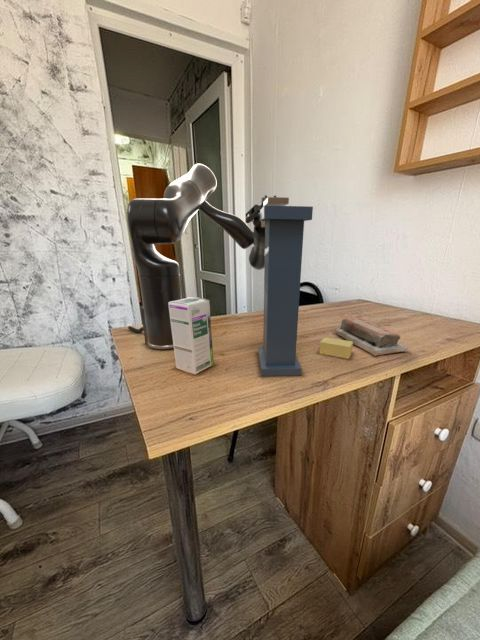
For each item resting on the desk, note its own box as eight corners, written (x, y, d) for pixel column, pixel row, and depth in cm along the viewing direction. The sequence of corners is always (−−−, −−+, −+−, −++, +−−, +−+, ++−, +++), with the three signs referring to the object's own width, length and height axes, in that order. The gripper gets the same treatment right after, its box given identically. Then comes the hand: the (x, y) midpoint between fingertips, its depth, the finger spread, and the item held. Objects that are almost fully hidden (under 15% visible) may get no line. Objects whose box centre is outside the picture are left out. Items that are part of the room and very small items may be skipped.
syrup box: (195, 375, 59) (189, 304, 54) (174, 368, 62) (167, 300, 56) (214, 365, 63) (210, 299, 58) (194, 359, 66) (189, 295, 61)
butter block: (319, 353, 71) (320, 341, 70) (323, 348, 74) (324, 336, 73) (348, 359, 68) (350, 347, 67) (351, 353, 71) (353, 341, 70)
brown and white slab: (267, 203, 61) (267, 193, 61) (260, 209, 83) (260, 202, 83) (288, 203, 62) (289, 194, 61) (275, 210, 84) (276, 203, 83)
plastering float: (335, 317, 83) (364, 314, 86) (333, 333, 85) (362, 330, 88) (377, 337, 67) (412, 333, 70) (374, 357, 69) (408, 352, 72)
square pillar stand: (261, 376, 59) (264, 205, 48) (258, 353, 70) (259, 210, 59) (300, 375, 60) (313, 206, 48) (291, 352, 71) (299, 211, 59)
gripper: (243, 221, 94) (244, 184, 77) (286, 222, 95) (295, 186, 78) (244, 243, 93) (244, 211, 76) (286, 244, 94) (296, 212, 77)
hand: (270, 198), depth 77 cm, fingers closed on brown and white slab, 2 cm apart
